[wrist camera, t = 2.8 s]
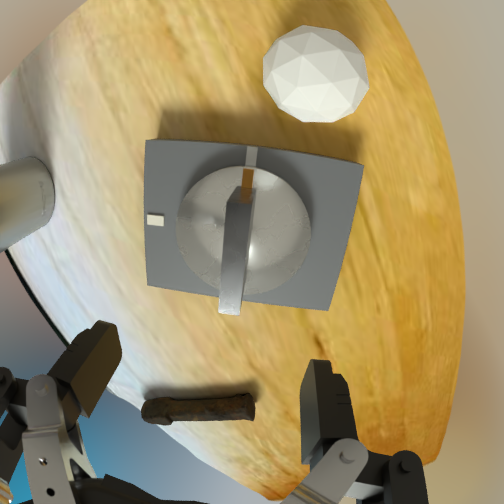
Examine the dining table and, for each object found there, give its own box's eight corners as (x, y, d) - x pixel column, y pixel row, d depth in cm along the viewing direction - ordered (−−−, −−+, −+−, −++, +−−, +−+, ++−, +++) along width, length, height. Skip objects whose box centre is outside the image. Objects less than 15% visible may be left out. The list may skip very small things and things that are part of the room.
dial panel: (156, 273, 29) (146, 286, 27) (157, 138, 23) (144, 140, 21) (324, 296, 29) (328, 312, 26) (355, 162, 23) (364, 165, 21)
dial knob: (179, 279, 26) (157, 317, 20) (182, 159, 21) (152, 170, 16) (296, 295, 26) (300, 339, 20) (320, 176, 21) (336, 191, 16)
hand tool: (251, 388, 36) (248, 414, 32) (257, 403, 38) (255, 428, 33) (138, 389, 39) (128, 410, 35) (149, 404, 41) (140, 424, 36)
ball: (290, 71, 22) (275, 4, 15) (373, 92, 20) (381, 21, 12) (257, 128, 22) (229, 57, 14) (352, 156, 19) (361, 80, 12)
